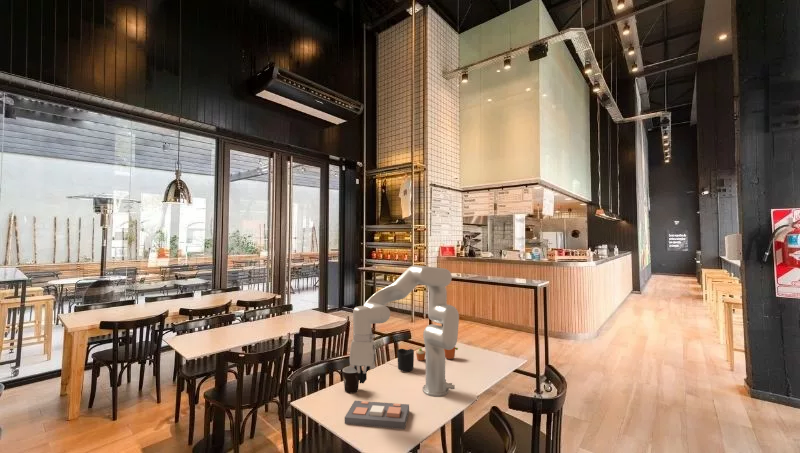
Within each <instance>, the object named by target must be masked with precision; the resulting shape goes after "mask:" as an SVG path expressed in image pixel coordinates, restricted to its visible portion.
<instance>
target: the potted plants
mask: <svg viewBox="0 0 800 453" xmlns="http://www.w3.org/2000/svg"><path fill="white" fill-rule="evenodd" d="M458 350H459V348H458V347H456V346H455V347H454V348H453V349H451V350H446V349H444V352H445V359H448V360H453V359H455V355H456V351H458ZM415 355H416V360H417V361H424V360H426V354H425V350H423V349H422V348H421V347H420V348H419V349H418V350H416V352H415Z"/></svg>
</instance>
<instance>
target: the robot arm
mask: <svg viewBox="0 0 800 453" xmlns="http://www.w3.org/2000/svg"><path fill="white" fill-rule="evenodd" d="M451 282H452V273H451V271H450V270H448V268H443V267H433V266H426V265H417V264H412V265H410V266H409V267H407V269H405V270H404V272H403V273H402V274H401V275H400V276H399V277H397V279H396V280H395V281H394V282H393V283H391V284H389V285H388V286H385V287H384V288H382V289H379V290H378V291H376V292H375V293H374V294H372V295H371V296H370V297H369V298H368V299H366V301H365V302H364V304H363V305H359V306H355V307H354V309H353V311H352V323H353V324H352V327H353V328H352V340H351V342H350V349H349V366H350V367H352V368H355V369H356V370H357V372H358V373H359V384H364V383H365V382H366V381H367V376H368V375H367V372H369V370H372V369H375V368H376V360H377V359H376V357H377V356H376V347H375V340H374V339H375V337H376V334H374V333H373V331H372V325H373V324H384V323H386V322H388V321H389V319H390V318H391V310H390V308H389V307H388V306H386V305H387V304H389V303H391V302H396V301H400V300H403V299H405V298H406V297H408V295H409V294H411V292H412V291H413V290H414V289H415V288H416V287H417V286H418V285H423V286H426V287H427V289H428V291H429V292H428V293H429V294H428V295H429V298H428V311H427V313H428V314H427V316H428V319H429V320H431V322H434V323H437V324H429V325H426V327H425V328H424V330H423V333H422V335H423V343H424V347H425V349H424V351H425V384H424V385H423V386H422V392H423V393H424V394H425V395H428V396H431V397H443V396H445V395H447V394H449V389H450V390H456V388H455V384H453V382H447V379H446V358H445V352H444V349H446V350H451V349H453V348H454V347H456V346H457V342H458V336H459V335H458V334H459V324H460V322H459V321H460V314H459V311H458V309H457V308H456V307H455V306H454V305H451V304H448V303H447V298H448V297H447V289H446V287H448V285H450V284H451ZM438 324H440V325H438Z"/></svg>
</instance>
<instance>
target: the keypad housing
mask: <svg viewBox="0 0 800 453" xmlns="http://www.w3.org/2000/svg"><path fill="white" fill-rule="evenodd" d="M373 405H375V406H384V414H383V416H382V417H381V416H370V410H371V408H372V406H373ZM356 407H362V408H368V411H367V413H366V415H355V414H353V412H354V410H355V409H356ZM389 407H401V415H400V418H393V417H387V411H388V408H389ZM409 414H410V404H408V403H407V404H406V403H396V402H380V401H378V402H377V401H367V400H354V401H353V403H352V404H351V406H350V407H349V409H348V411H347V412H346V414H345V416H344V424H345V425H356V426H364V427H365V426H367V427H378V428H387V429H397V430H405V428H406V425H407V421H408V417H409Z"/></svg>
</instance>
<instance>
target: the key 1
mask: <svg viewBox="0 0 800 453" xmlns="http://www.w3.org/2000/svg"><path fill="white" fill-rule="evenodd" d="M367 411H368V408H362V407H356V409H355V410H354V412H353V414H355V415H366V413H367Z"/></svg>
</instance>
